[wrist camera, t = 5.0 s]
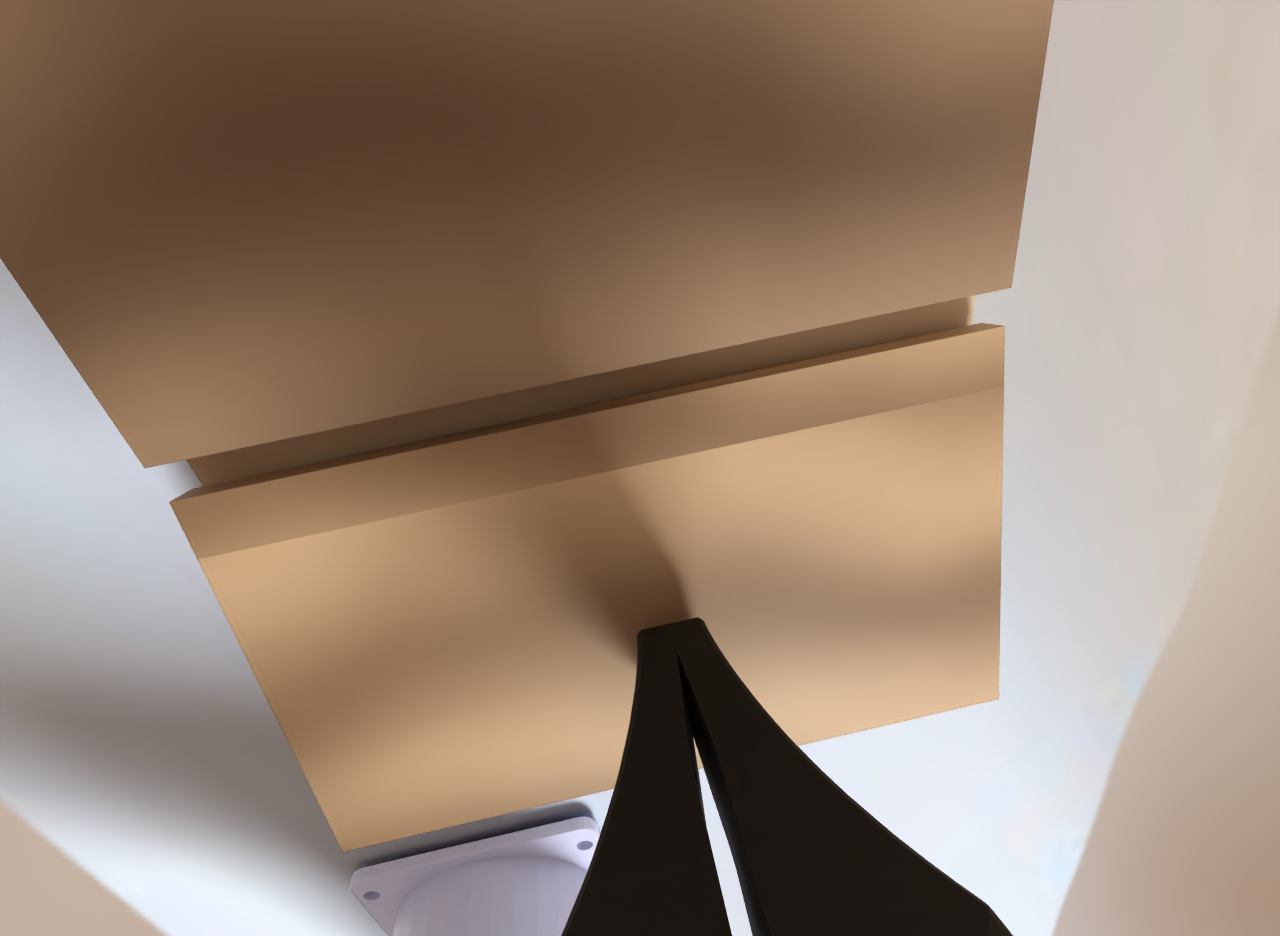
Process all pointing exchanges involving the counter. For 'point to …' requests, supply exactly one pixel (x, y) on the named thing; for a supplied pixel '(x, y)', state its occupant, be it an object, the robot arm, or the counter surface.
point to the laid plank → (493, 201)
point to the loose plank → (619, 576)
